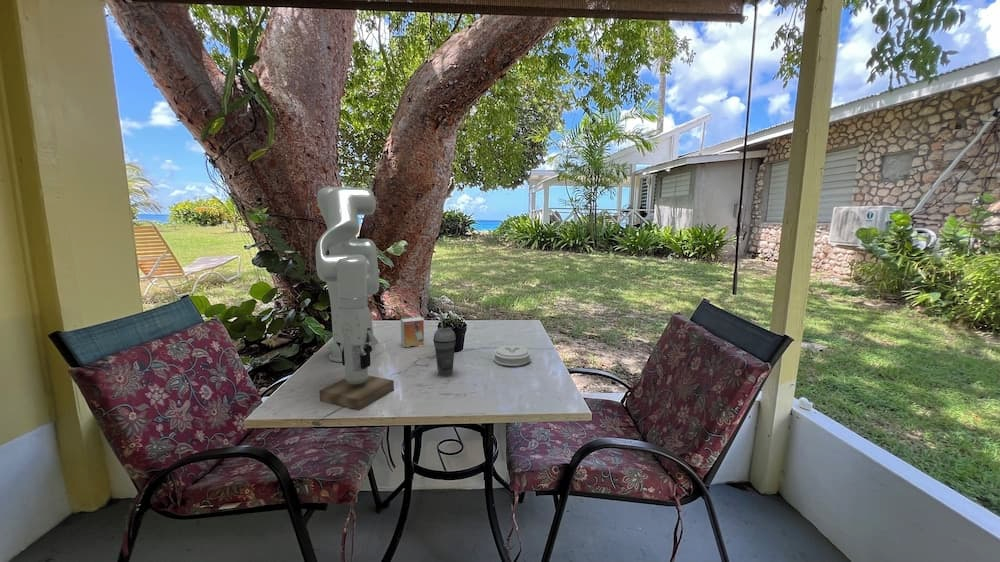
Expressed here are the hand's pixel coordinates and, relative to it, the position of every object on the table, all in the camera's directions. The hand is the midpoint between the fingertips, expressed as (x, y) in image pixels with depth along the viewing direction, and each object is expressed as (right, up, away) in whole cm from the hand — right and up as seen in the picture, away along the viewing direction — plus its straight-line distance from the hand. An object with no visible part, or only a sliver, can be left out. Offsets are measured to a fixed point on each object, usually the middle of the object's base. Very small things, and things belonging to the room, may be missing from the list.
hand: (356, 364), depth 116 cm
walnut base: (0, -9, +1) cm, 9 cm away
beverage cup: (+23, -7, +17) cm, 29 cm away
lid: (+45, -5, +29) cm, 53 cm away
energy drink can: (0, -5, +1) cm, 5 cm away
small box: (+6, -2, +47) cm, 48 cm away
